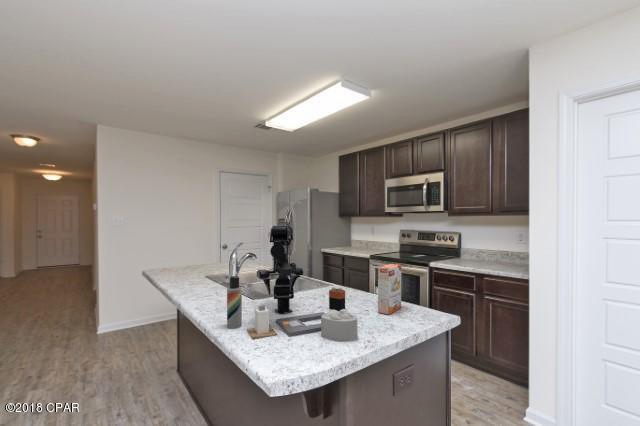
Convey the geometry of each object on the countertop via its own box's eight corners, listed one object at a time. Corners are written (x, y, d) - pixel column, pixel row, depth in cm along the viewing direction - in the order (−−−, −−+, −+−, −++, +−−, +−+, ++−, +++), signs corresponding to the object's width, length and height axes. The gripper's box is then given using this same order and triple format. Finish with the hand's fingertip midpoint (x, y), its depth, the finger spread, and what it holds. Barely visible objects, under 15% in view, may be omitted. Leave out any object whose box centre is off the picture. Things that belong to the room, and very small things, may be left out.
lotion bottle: (228, 324, 126) (228, 275, 126) (242, 323, 127) (242, 274, 127) (225, 328, 120) (225, 277, 121) (240, 328, 121) (240, 277, 121)
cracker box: (389, 315, 136) (389, 268, 136) (377, 313, 139) (376, 266, 140) (402, 308, 147) (401, 264, 147) (390, 306, 150) (390, 263, 151)
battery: (340, 311, 142) (340, 289, 142) (328, 309, 146) (328, 288, 146) (345, 309, 146) (345, 288, 146) (333, 307, 150) (333, 286, 150)
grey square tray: (275, 322, 127) (275, 317, 127) (323, 315, 137) (323, 310, 137) (289, 336, 112) (289, 330, 112) (342, 327, 121) (342, 321, 121)
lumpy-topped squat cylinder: (331, 328, 121) (331, 306, 121) (362, 334, 114) (362, 310, 114) (318, 337, 112) (317, 313, 112) (350, 344, 105) (350, 318, 105)
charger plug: (254, 329, 117) (254, 304, 118) (265, 328, 119) (265, 303, 119) (258, 334, 113) (258, 308, 113) (268, 332, 115) (268, 306, 115)
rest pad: (246, 330, 119) (246, 328, 119) (269, 326, 123) (269, 325, 123) (252, 339, 110) (252, 337, 110) (277, 335, 113) (277, 333, 113)
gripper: (263, 259, 117) (263, 300, 117) (308, 256, 125) (308, 295, 125) (256, 256, 127) (256, 294, 127) (298, 253, 135) (298, 289, 135)
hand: (280, 293), depth 128 cm, fingers open, 9 cm apart
